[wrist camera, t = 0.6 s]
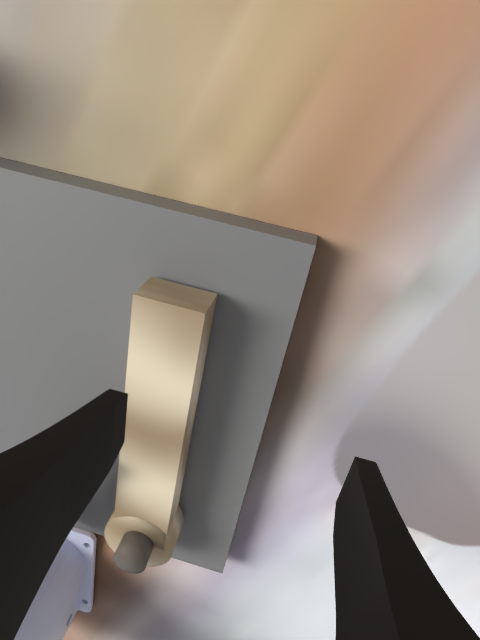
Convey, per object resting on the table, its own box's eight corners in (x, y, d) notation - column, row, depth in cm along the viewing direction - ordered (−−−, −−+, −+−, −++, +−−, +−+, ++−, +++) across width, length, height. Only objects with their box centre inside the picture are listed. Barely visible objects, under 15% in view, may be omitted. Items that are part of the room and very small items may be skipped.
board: (227, 552, 29) (222, 573, 28) (-75, 458, 31) (-93, 474, 30) (317, 235, 19) (315, 245, 18) (-143, 122, 21) (-175, 124, 20)
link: (179, 543, 27) (161, 595, 24) (117, 524, 28) (92, 573, 25) (228, 296, 19) (209, 331, 16) (140, 273, 19) (107, 303, 17)
